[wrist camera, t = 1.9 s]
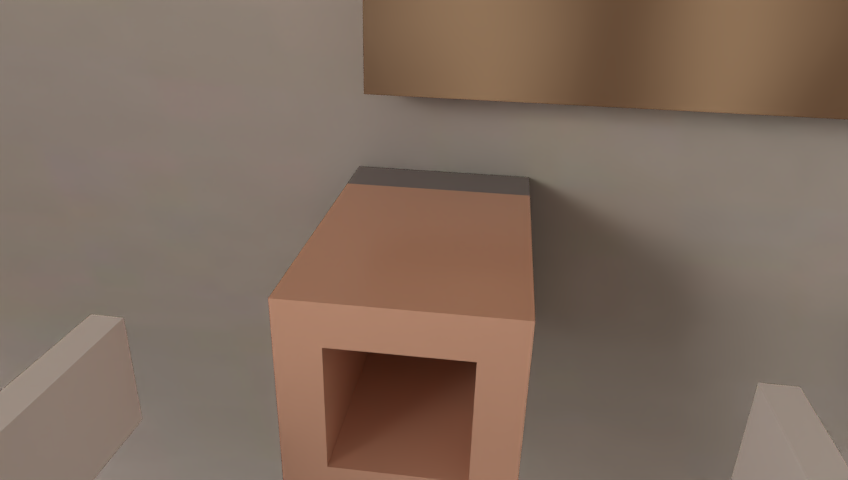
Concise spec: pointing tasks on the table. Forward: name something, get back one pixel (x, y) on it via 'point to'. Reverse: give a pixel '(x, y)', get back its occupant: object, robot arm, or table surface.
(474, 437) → the terracotta sleeve
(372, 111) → the table surface
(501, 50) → the pin board
